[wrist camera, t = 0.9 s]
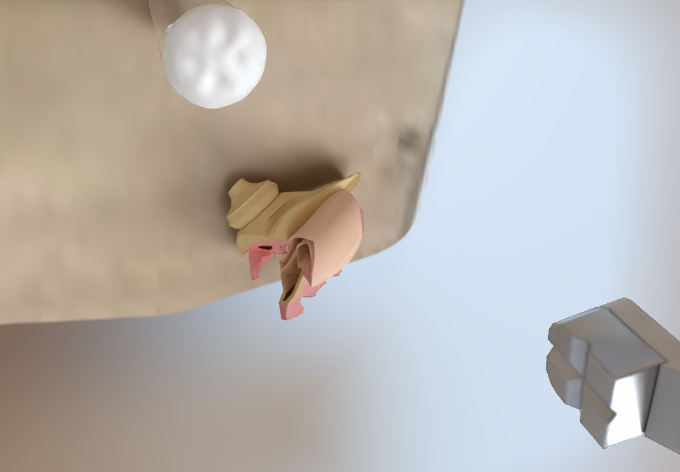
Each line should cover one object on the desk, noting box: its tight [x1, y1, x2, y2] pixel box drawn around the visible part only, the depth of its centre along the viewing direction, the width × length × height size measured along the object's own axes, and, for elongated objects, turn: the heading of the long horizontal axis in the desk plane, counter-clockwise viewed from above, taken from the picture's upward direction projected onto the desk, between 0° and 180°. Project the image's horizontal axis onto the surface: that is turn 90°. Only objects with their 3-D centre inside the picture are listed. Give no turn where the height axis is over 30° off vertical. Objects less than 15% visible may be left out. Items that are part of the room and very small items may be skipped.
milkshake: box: [148, 0, 267, 109], centre depth 30 cm, size 4×5×10 cm
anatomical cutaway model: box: [226, 172, 365, 320], centre depth 42 cm, size 9×10×10 cm
